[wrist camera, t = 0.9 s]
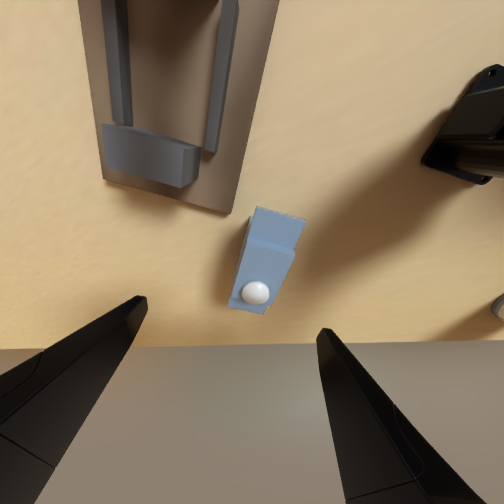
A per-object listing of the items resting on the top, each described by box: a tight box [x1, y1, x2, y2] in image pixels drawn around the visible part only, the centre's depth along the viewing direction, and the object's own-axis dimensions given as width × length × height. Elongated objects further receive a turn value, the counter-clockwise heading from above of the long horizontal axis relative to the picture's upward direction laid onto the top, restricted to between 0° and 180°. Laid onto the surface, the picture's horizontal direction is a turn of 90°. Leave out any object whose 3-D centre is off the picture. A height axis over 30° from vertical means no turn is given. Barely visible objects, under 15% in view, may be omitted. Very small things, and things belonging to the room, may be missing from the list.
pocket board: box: [78, 0, 280, 214], centre depth 12 cm, size 12×18×5 cm, turn 164°
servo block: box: [227, 206, 306, 315], centre depth 18 cm, size 4×11×7 cm, turn 164°
